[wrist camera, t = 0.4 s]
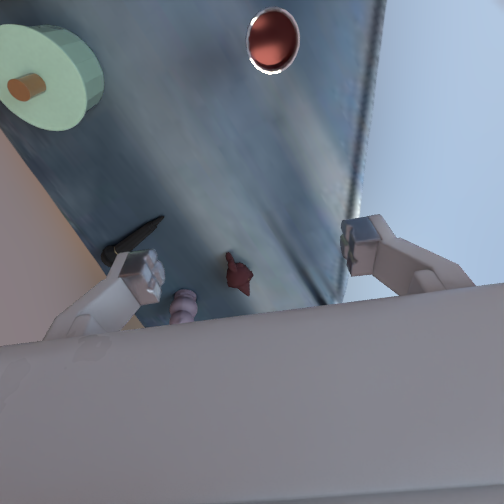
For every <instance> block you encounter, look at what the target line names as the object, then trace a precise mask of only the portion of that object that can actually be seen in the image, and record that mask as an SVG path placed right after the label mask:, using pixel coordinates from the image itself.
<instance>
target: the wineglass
mask: <svg viewBox="0 0 504 504" xmlns="http://www.w3.org/2000/svg"><path fill="white" fill-rule="evenodd" d="M245 40H246V50H247V53H248V56H249V58H250V60H251V62H252V63H253V64H254V66H255V67H256V68H257V69H259V70H260V71H261V72H264V73H268V74H275V73H279V72H281V71H283V70H285V69H286V68H287V67H288V66H290V65H291V64H292V62H293V60H294V59H295V57H296V55H297V52H298V49H299V44H300V34H299V29H298V25H297V23H296V21H295V19H294V18H293V16H292V15H291V14H290V13H288V12H287V11H286V10H284V9H283V8H280V7H277V6H270V7H265V8H264V9H262V10H260V11H258V12H257V13H256V14H255V15H254V17H253V18H252V19H251V21H250V23H249V25H248V27H247V32H246V37H245Z"/></svg>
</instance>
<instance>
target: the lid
mask: <svg viewBox="0 0 504 504" xmlns="http://www.w3.org/2000/svg"><path fill="white" fill-rule="evenodd" d="M0 100H1V101H2V102H3V103H4V105H6V106H7V107H8V108H9V109H10V110H11V111H12V112H13V113H14V114H16V115H17V116H18V117H20V118H21V119H23V120H24V121H26V122H28V123H30V124H32V125H34V126H36V127H39V128H42V129H46V130H51V131H63V130H67V129H70V128H72V127H74V126H75V125H77V124H78V123H79V122H80V121H81V120H82V119H83V117H84V115H85V113H86V109H87V103H88V99H87V91H86V86H85V83H84V80H83V78H82V75H81V73H80V72H79V70H78V68H77V66H76V65H75V63H74V62H73V60H72V59H71V58H70V56H69V55H68V54H67V53H66V52H65V51H64V50H63V49H62V48H61V47H60V46H59V45H58V44H57V43H56V42H55V41H53V40H52V39H51V38H49V37H48V36H46V35H45V34H43V33H41V32H39V31H37V30H35V29H33V28H30V27H27V26H24V25H19V24H5V25H0Z"/></svg>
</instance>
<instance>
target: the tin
mask: <svg viewBox="0 0 504 504" xmlns="http://www.w3.org/2000/svg"><path fill="white" fill-rule="evenodd" d="M30 28H33V29H35V30H37V31H39V32H41V33H43V34H45V35H46V36H48V37H49V38H51V39H52V40H53V41H55V42H56V43H57V44H58V45H59V46H60V47H61V48H62V49H63V50H64V51H65V52H66V53H67V54H68V55H69V56H70V58H71V59H72V60H73V62H74V63H75V65H76V66H77V68H78V70H79V72H80V73H81V75H82V78H83V80H84V83H85V86H86V91H87V99H88V103H87V109H86V112H88V111H89V110H90V109H92V108H93V107H94V106H95V105H96V104H98V103H99V101H100V99H101V97H102V95H103V91H104V77H103V73H102V69H101V67H100V64H99V62H98V60H97V58H96V57H95V55H94V53H93V52H92V51H91V49H90V48H89V47H88V46H87V45H86V44H85V43H84V42H83V41H82V40H81V39H80V38H79V37H77V36H76V35H75V34H73V33H72V32H70V31H68V30H66V29H64V28H61V27H58V26H54V25H49V24H47V25H39V26H31V27H30Z"/></svg>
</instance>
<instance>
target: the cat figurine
mask: <svg viewBox="0 0 504 504" xmlns="http://www.w3.org/2000/svg"><path fill="white" fill-rule="evenodd" d="M170 313H171V318H170V322H169V324H170V325H172V324H180V323H188V322H194V319H193V317H194V316H195V315H196V313H197V304H196V294H195V293H194V292H192V291H190V290H186V289H184V290H179V291H177V292H176V293H175V297H174V301H173V302H172V303H171V305H170Z"/></svg>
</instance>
